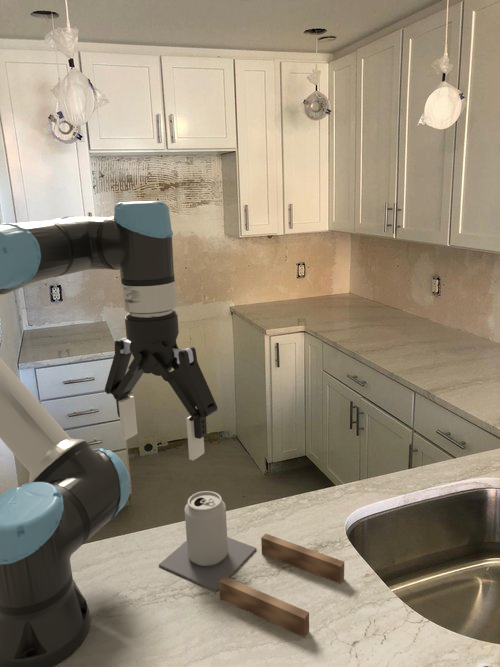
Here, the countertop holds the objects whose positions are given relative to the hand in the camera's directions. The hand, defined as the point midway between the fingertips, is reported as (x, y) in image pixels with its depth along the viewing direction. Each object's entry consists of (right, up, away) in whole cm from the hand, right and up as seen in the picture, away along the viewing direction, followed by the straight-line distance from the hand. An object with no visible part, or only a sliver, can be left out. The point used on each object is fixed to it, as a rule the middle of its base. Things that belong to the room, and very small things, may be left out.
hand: (162, 446), depth 84 cm
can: (+6, -24, +18) cm, 31 cm away
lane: (+19, -26, +10) cm, 34 cm away
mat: (+6, -25, +18) cm, 31 cm away
